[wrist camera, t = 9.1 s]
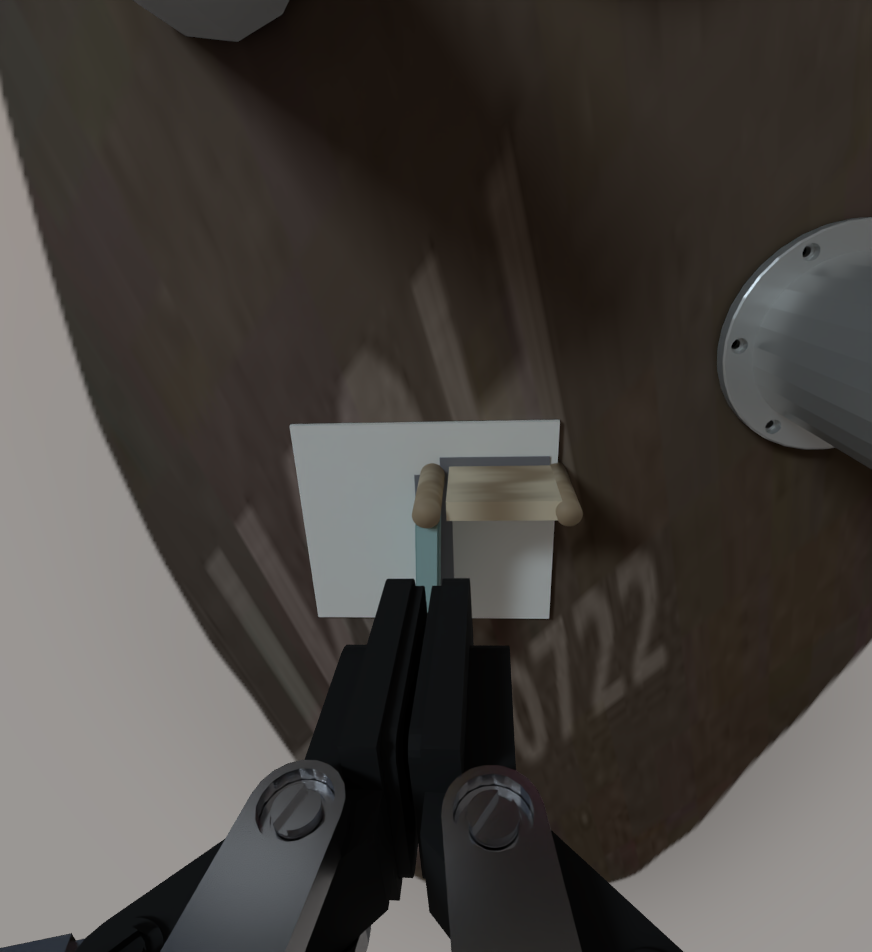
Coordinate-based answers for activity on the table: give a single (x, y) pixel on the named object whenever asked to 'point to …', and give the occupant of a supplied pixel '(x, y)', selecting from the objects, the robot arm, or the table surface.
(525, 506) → the fence fixed
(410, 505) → the card
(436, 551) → the fence gate
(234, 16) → the jar
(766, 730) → the table surface
